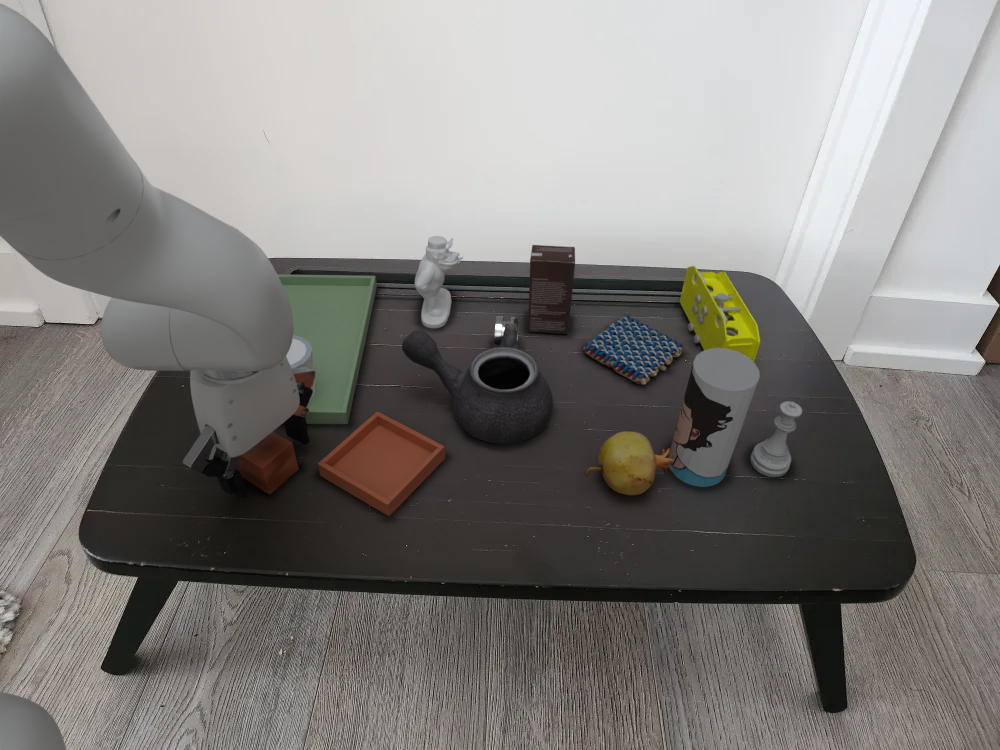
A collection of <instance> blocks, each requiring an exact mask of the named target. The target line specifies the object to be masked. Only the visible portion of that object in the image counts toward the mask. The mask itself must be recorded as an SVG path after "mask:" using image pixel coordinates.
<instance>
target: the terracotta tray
mask: <svg viewBox="0 0 1000 750" xmlns="http://www.w3.org/2000/svg"><path fill="white" fill-rule="evenodd" d="M445 446H446V445H444V444H441V443H439V442H437V441H435V440H433V439H431V438H429V437H427V436H426V435H424V434H422V433H420V432H418V431H416V430H414V429H413V428H410V427H408V426H406V425H405V424H403V423H401V422H399V421H397V420H395V419H393V418H391V417H389V416H388V415H385V414H383V413H382V412H380V411H378V410H377V411H375V412H374V413H373V414H372V415H371V416H370V417H369V418H368V419H366V420H365V421H364V422H363V423H361V424H360V425H359V427H357V428H356V429H355V430H354V431H353V432H351V434H349V436H347V437H346V438H345V439H344V440H343V441H341V442H340V443H339V444H338V445H337V446H336V447H334V448H333V449H332V450H331V451H330V452H329V453H327V454H326V456H324V457H323V458H322V459H321V460H320V461H319V462H318V463H317V468H318V471H319V476H320V477H322V478H323V479H325V480H326V481H328V482H330V483H332V484H333V485H335V486H337V487H338V488H340V489H342V490H344V491H345V492H346V493H348V494H350V495H352V496H354V497H355V498H357V499H358V500H361V501H362V502H364V503H366V504H367V505H369V506H370V507H372V508H374V509H375V510H377V511H379V512H380V513H382V514H384V515H385V516H387V517H391V515H392V514H393V513H394V512H395V511H396V510H397V509H398V508H399V507H400V506H401V505H402V504H403V503H404V502H405V501H406V500H407V499H408V498H409V497H410V495H412V493H413V492H415V490H417V488H418V487H419V486H421V484H422V483H423V482H424V481H425V480H426V479H427V478H428V477H429V476H430V475H431V474H432V473H433V472H434V471H435V470H436V468H438V467H439V465H441V463H443V461H444V460H445V459H446V447H445Z"/></svg>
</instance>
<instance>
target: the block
mask: <svg viewBox="0 0 1000 750" xmlns="http://www.w3.org/2000/svg"><path fill="white" fill-rule="evenodd" d="M237 467H238V471H239V472H240V473H241V476H242V479H243V480H246V481H247V482H249V483H251V484H252V485H254V487H257V488H258V489H260V490H262V491H263V492H265V493H266V494H267V495H271V494H272V493H274V491H276V490H277V489H278V488H279V487H281V486H282V485H283V484H284V483H285V482H286V481H287V480H289V479H290V478H291V477H292V476H293V475H295V474H296V472H298V471H299V470H300V468H299V463H298V460H297V457H296V452H295V448H294V444H293V442H292V441H290V440H288V439H287V438H285V437H283V436H281V435H279V434H278V433H276V432H275V431H273V432H271V433H270V434H269V435H268V436H266V437H265V438H264V439H262V440H261V441H260V442H259V443H257V444H256V445H255V446H254V447H252V448H251V449H250V450H248V451H247V452H245V453H244V454H242V455H240V457H239V460H238V463H237Z"/></svg>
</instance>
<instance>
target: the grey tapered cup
mask: <svg viewBox="0 0 1000 750" xmlns="http://www.w3.org/2000/svg"><path fill="white" fill-rule="evenodd" d="M286 357H287V359H288V362H289V364H290V366H291V369H295V368H302V367H308V368H310V369H312V370H313V371H314V366H313V353H312V347H311V345H310V342H308V341H307V340H306V339H304V338H303V337H299V336H296V335H293V339H292V344H291V347H290V349H289V351H288V353H287V355H286ZM296 384H297V385H298V383H296ZM311 389H312V390H313V393H312V396H311V398H310V400H309V402H310V401H311V400H312V399H313V398H314V395H315V379H314V383H313V386H312V387H311Z"/></svg>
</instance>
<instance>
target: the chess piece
mask: <svg viewBox="0 0 1000 750" xmlns="http://www.w3.org/2000/svg"><path fill="white" fill-rule="evenodd" d="M779 411H780V413H781V415H779V416H776V417H775V418H774V420H773V426H774V427H775V431H774V432H773V434H772V435H771V437H769V438H766V439H765V440H764V441H761V442H760V443H759V442H758V443H757V444H756V445H755V446H754V448H753V450H752V451H751V454H750V457H749V460H750V464H751V466H752V467H753V469H754V470H755V471H757V472H758V473H759V474H761V475H762V476H766V477H770V478H780V477H782V476H784V475H786V474H787V472H788V471H789V469H790V466H791V463H792V455H791V453H790V451H789V447H788V445H787V439H788V438H787V437H788V434H791V433H793V432H795V430H796V428H797V422H796V421H795V419H797V418H799V417H801V415H803V414H802V413H803V408H802V407H801V406H800V405H799V404H798V403H796V402H795V401H790V400H789V401H783V402H782V403H780V405H779Z"/></svg>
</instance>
